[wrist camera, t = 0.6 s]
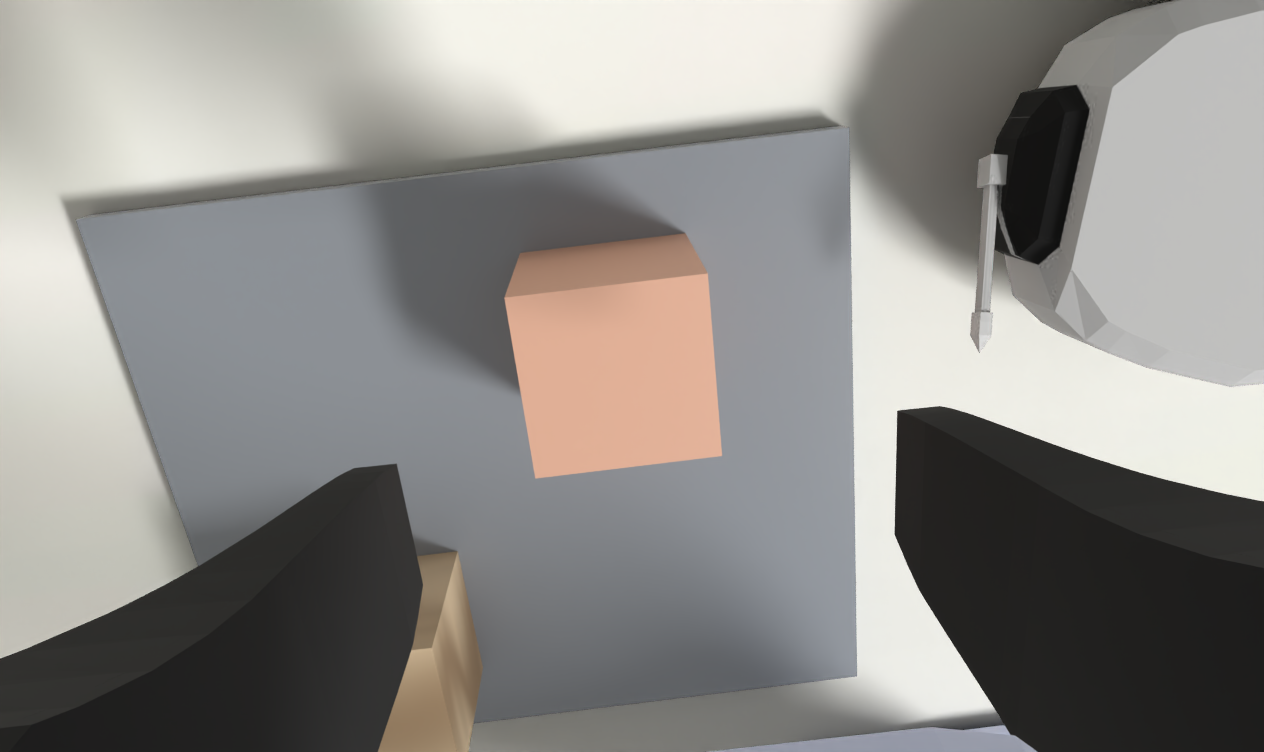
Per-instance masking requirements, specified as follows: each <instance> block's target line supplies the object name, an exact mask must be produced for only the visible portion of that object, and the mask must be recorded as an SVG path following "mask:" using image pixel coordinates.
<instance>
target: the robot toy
mask: <svg viewBox="0 0 1264 752" xmlns="http://www.w3.org/2000/svg"><path fill="white" fill-rule="evenodd" d="M977 188H983V203H982V217H981V231H980V246H979V260H978V274H977V289H976V303H975V313H972V318H971V333H970V336H971V338H972V340H973V341H974V343H975V345H976V347H977V349H978V351H979V353H980V352H981V350H982V349H983V347H984V346H985V344H986V343H987V341H988V340H989V338H990V337H991V332H992V318H993V313H990V303H991V289H992V274H993V260H994V250H996V251H998V252H1000V253H1003V254H1004V256H1005V261H1006V266H1007V270H1008V275H1009V280H1010V285H1011V290H1012V294H1013V296H1014V297H1015V298H1016V299H1018V300H1019V301H1020V302H1021V303H1022V304H1023V305H1024V306H1025V307H1026V308H1027V309H1028V310H1029V311H1030V312H1031V313H1032V314H1033V315H1034V316H1035V317H1036V318H1038V319H1039V320H1040V321H1041V322H1042V323H1044V324H1046V325H1048V326H1049V327H1051V328H1053V329H1055V330H1057V331H1058V332H1060V333H1063V334H1065V335H1067V336H1070V337H1072V338H1074V339H1077V340H1079V341H1081V342H1084V343H1086V344H1088V345H1091V346H1093V347H1095V348H1098V349H1100V350H1102V351H1105V352H1107V353H1110V354H1112V355H1115V356H1117V357H1120V358H1123V359H1125V360H1128V361H1131V362H1133V363H1136V364H1138V365H1141V366H1144V367H1146V368H1150V369H1155V370H1159V371H1163V372H1168V373H1172V374H1176V375H1181V376H1185V377H1189V378H1194V379H1198V380H1202V381H1207V382H1211V383H1216V384H1220V385H1224V386H1229V387H1234V386H1245V385H1255V384H1264V0H1174V1H1169V2H1165V3H1160V4H1156V5H1151V6H1146V7H1142V8H1137V9H1133V10H1130V11H1128V12H1125V13H1122V14H1119V15H1116V16H1113V17H1111V18H1108V19H1106V20H1105V21H1103V22H1101V23H1100V24H1098V25H1096V26H1095V27H1093V28H1092V29H1090V30H1088V31H1087V32H1085V33H1083V34H1082V35H1080V36H1078V37H1077V38H1075V39H1074V40H1072V41H1070V42H1069V43H1067V44H1065V45H1064V47H1063V49H1062V50H1061V52H1060V53H1059V55H1058V57H1057V58H1056V60H1055V61H1054V63H1053V65H1052V66H1051V68H1050V69H1049V71H1048V73H1047V74H1046V76H1045V77H1044V79H1043V81H1042V82H1041V84H1040V85H1039V87H1038V89H1035V90H1031V91H1027V92H1023V93H1020V95H1019V97H1018V99H1017V101H1016V104H1015V106H1014V108H1013V110H1012V112H1011V114H1010V116H1009V118H1008V119H1007V121H1006V123H1005V125H1004V127H1003V128H1002V130H1001V132H1000V134H999V135H998V137H997V140H996V145H995V150H994V154H990V155H988V156H986V157H984V158H981V159H979V163H978V178H977Z"/></svg>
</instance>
